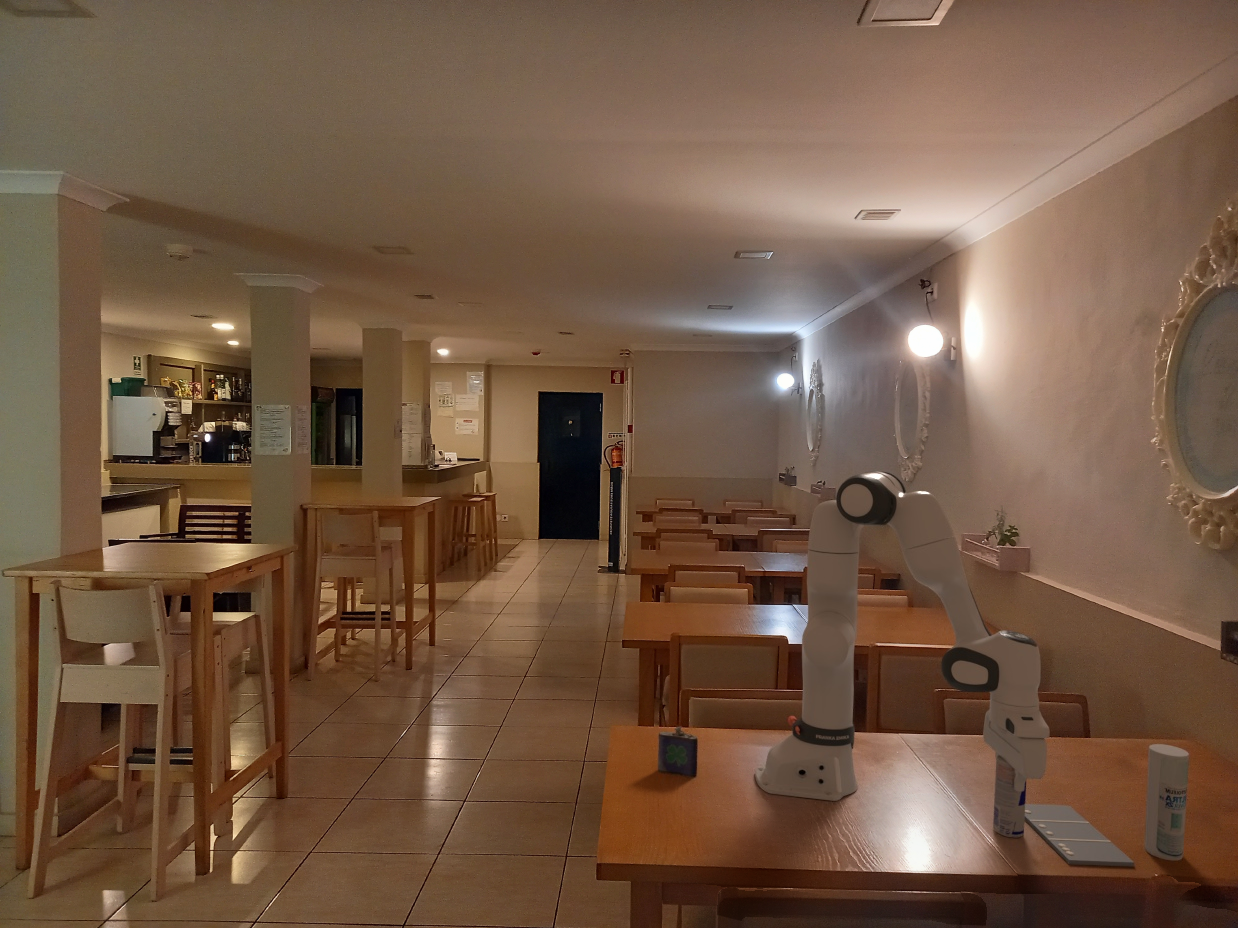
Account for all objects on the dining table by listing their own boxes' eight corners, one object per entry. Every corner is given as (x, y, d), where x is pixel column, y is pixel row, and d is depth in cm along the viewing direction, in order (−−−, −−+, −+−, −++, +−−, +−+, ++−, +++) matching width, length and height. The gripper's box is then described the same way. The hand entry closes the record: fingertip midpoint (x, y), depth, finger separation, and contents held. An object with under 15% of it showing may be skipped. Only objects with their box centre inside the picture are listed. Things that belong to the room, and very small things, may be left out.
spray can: (1166, 843, 168) (1171, 743, 167) (1192, 860, 161) (1197, 756, 160) (1135, 844, 167) (1141, 743, 166) (1160, 861, 160) (1166, 756, 160)
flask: (656, 772, 196) (657, 726, 196) (659, 767, 199) (661, 722, 198) (695, 778, 193) (697, 731, 193) (698, 773, 196) (700, 727, 195)
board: (1068, 863, 158) (1069, 859, 158) (1012, 806, 182) (1012, 802, 182) (1134, 866, 158) (1134, 861, 158) (1068, 808, 182) (1069, 804, 182)
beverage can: (1027, 840, 167) (1030, 765, 167) (996, 837, 168) (1000, 762, 168) (1019, 827, 173) (1023, 754, 172) (990, 824, 174) (993, 752, 173)
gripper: (976, 697, 180) (974, 761, 181) (1020, 731, 160) (1017, 804, 160) (1007, 698, 180) (1004, 762, 180) (1054, 732, 159) (1050, 805, 160)
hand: (1010, 782), depth 170 cm, fingers closed on beverage can, 5 cm apart
